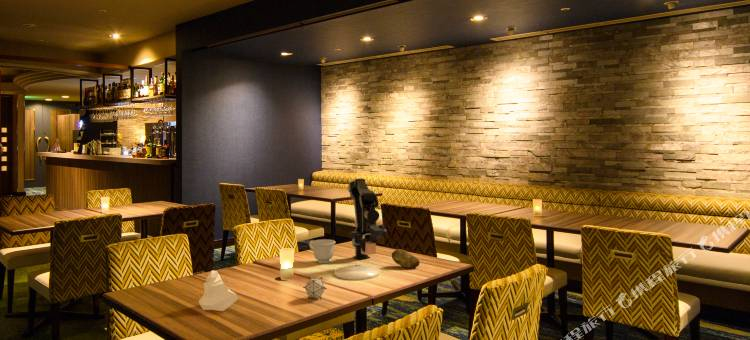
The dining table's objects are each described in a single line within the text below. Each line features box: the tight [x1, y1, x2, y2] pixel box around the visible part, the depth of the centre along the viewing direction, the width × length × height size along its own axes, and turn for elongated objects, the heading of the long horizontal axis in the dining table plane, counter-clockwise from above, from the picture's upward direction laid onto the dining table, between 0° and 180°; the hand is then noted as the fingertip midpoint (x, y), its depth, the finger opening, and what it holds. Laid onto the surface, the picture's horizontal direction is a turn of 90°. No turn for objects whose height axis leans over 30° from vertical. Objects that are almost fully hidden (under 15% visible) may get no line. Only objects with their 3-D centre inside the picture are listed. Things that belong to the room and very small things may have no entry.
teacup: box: [308, 238, 336, 264], centre depth 265 cm, size 12×15×10 cm
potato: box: [391, 248, 421, 269], centre depth 254 cm, size 8×13×8 cm, turn 49°
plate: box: [333, 265, 380, 281], centre depth 242 cm, size 20×20×1 cm
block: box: [361, 242, 377, 256], centre depth 258 cm, size 5×5×5 cm
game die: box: [302, 276, 328, 300], centre depth 207 cm, size 9×8×10 cm
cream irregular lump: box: [198, 270, 239, 312], centre depth 198 cm, size 12×15×14 cm
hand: (368, 251), depth 258 cm, fingers closed on block, 5 cm apart
